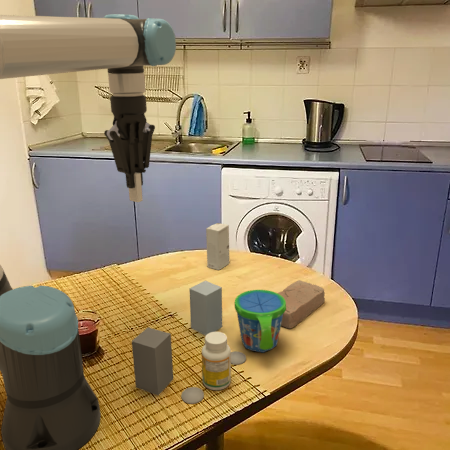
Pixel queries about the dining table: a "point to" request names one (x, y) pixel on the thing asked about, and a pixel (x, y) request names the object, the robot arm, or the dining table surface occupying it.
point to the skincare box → (217, 246)
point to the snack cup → (260, 318)
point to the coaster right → (237, 358)
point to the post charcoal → (152, 360)
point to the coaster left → (192, 395)
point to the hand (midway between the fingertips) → (136, 200)
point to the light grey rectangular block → (206, 307)
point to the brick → (300, 302)
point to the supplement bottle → (216, 361)
